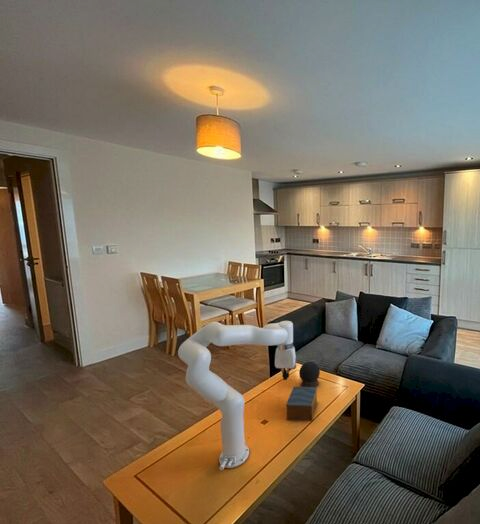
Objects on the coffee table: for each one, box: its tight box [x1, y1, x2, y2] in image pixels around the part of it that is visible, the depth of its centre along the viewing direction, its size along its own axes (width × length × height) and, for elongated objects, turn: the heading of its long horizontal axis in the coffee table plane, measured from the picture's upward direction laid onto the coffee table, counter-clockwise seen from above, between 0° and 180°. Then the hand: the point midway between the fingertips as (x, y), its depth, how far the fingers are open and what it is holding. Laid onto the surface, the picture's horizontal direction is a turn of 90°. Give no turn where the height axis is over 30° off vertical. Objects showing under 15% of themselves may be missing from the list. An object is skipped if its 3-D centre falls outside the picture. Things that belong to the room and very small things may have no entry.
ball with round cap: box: [298, 361, 321, 388], centre depth 185 cm, size 13×13×15 cm
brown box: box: [286, 388, 318, 422], centre depth 160 cm, size 16×14×9 cm
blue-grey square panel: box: [285, 386, 318, 407], centre depth 159 cm, size 16×14×1 cm
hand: (285, 378), depth 148 cm, fingers closed
